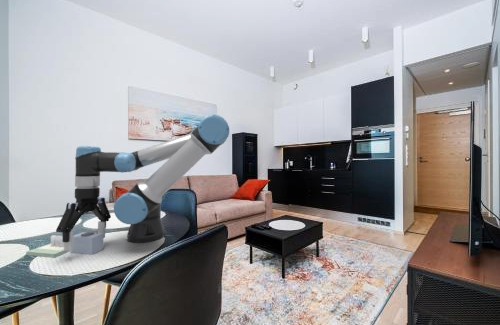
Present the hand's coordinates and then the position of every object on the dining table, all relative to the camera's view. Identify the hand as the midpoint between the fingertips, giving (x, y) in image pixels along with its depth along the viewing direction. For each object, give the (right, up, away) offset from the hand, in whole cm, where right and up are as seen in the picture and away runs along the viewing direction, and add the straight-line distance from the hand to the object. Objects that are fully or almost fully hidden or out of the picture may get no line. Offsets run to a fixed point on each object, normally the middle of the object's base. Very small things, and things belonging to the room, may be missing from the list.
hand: (86, 243), depth 82 cm
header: (-12, -3, +1) cm, 12 cm away
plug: (0, -3, 0) cm, 3 cm away
